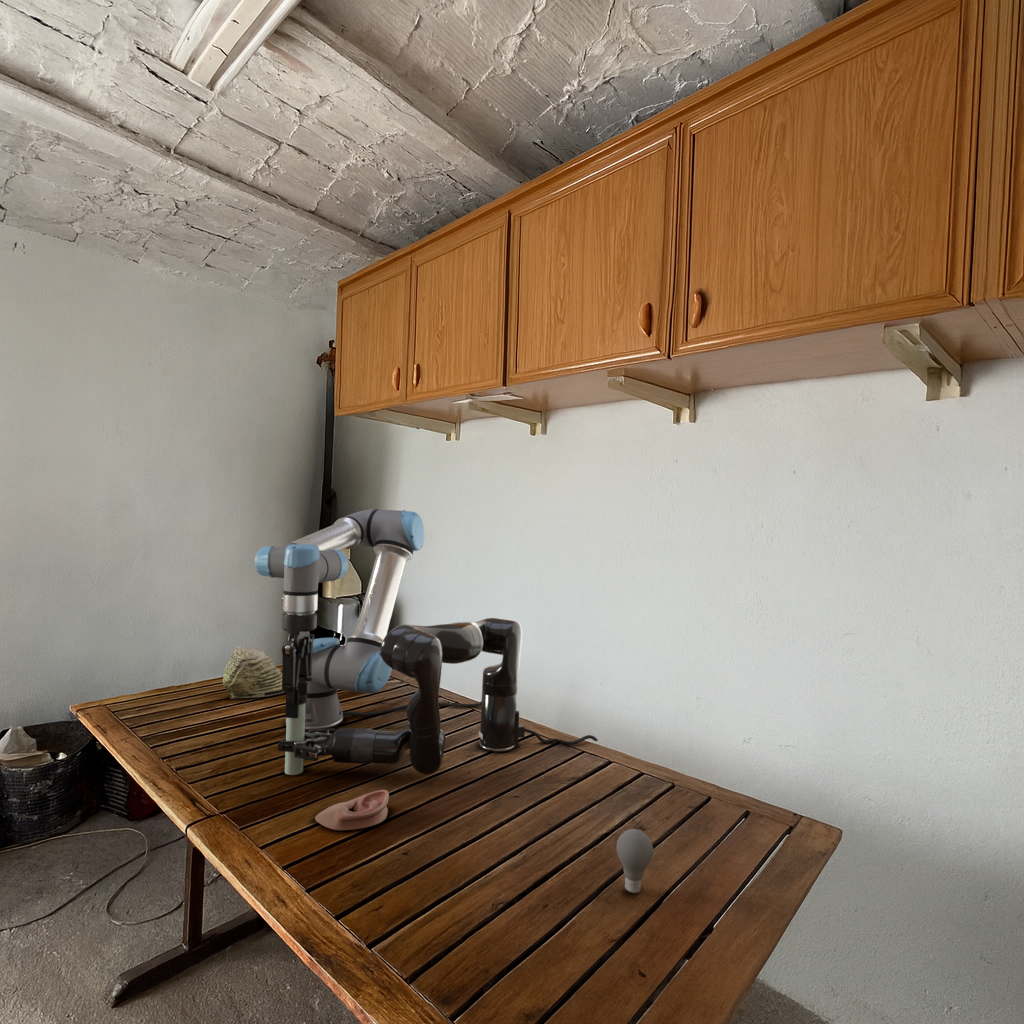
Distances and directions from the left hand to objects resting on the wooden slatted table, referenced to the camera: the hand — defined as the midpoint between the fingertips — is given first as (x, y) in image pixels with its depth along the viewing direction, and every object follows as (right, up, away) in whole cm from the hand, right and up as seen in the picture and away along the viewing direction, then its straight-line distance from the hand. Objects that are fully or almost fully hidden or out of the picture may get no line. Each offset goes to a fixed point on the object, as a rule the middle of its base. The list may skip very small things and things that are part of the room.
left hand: (296, 713), depth 145 cm
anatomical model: (+18, -15, -19) cm, 30 cm away
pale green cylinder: (-1, -13, 0) cm, 13 cm away
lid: (0, +4, 0) cm, 4 cm away
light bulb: (+70, -17, -39) cm, 82 cm away
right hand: (-3, -7, 0) cm, 7 cm away
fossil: (-31, -11, +53) cm, 62 cm away
